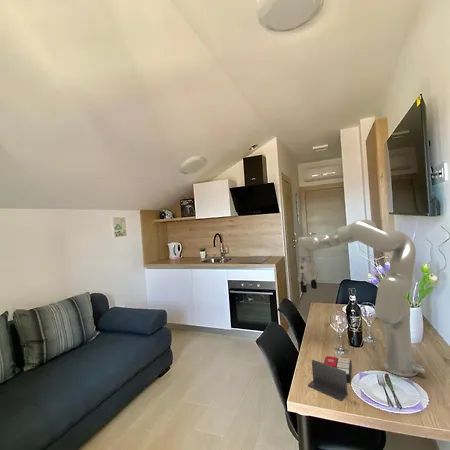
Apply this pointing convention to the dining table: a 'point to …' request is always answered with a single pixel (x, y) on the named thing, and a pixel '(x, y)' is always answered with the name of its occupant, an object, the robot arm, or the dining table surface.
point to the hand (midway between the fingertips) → (309, 290)
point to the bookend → (329, 380)
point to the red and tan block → (340, 365)
